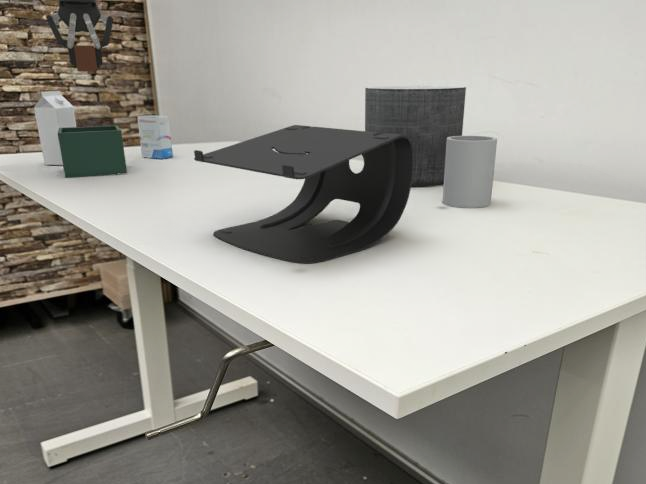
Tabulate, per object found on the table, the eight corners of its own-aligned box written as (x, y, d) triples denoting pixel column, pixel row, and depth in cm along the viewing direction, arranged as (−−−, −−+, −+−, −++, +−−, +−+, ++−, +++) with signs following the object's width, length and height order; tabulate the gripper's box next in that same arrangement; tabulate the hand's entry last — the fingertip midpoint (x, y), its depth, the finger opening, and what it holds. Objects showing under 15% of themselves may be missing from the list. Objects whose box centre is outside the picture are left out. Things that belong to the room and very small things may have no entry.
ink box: (174, 157, 180) (169, 115, 175) (162, 159, 176) (157, 116, 171) (153, 155, 184) (148, 114, 179) (141, 157, 180) (135, 115, 175)
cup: (447, 207, 113) (451, 141, 108) (439, 198, 121) (443, 135, 117) (495, 207, 113) (502, 140, 108) (484, 197, 121) (490, 135, 117)
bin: (65, 177, 148) (57, 133, 144) (66, 169, 161) (58, 127, 157) (127, 173, 153) (121, 130, 149) (123, 165, 166) (117, 125, 161)
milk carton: (44, 165, 168) (30, 91, 160) (62, 161, 174) (49, 90, 166) (65, 166, 166) (52, 92, 158) (82, 162, 172) (70, 90, 164)
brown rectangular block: (77, 71, 128) (73, 45, 126) (78, 71, 136) (74, 46, 134) (97, 71, 129) (94, 45, 127) (97, 71, 138) (93, 46, 136)
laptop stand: (415, 236, 95) (420, 133, 88) (302, 270, 80) (299, 148, 74) (306, 211, 112) (304, 123, 106) (196, 234, 97) (187, 134, 91)
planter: (416, 168, 156) (420, 84, 148) (479, 180, 139) (487, 86, 131) (345, 176, 145) (346, 87, 137) (404, 191, 128) (408, 89, 120)
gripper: (109, -19, 131) (120, 67, 138) (38, -21, 127) (53, 67, 134) (110, -23, 125) (121, 67, 131) (35, -26, 120) (51, 67, 127)
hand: (87, 67), depth 132 cm, fingers closed on brown rectangular block, 4 cm apart
